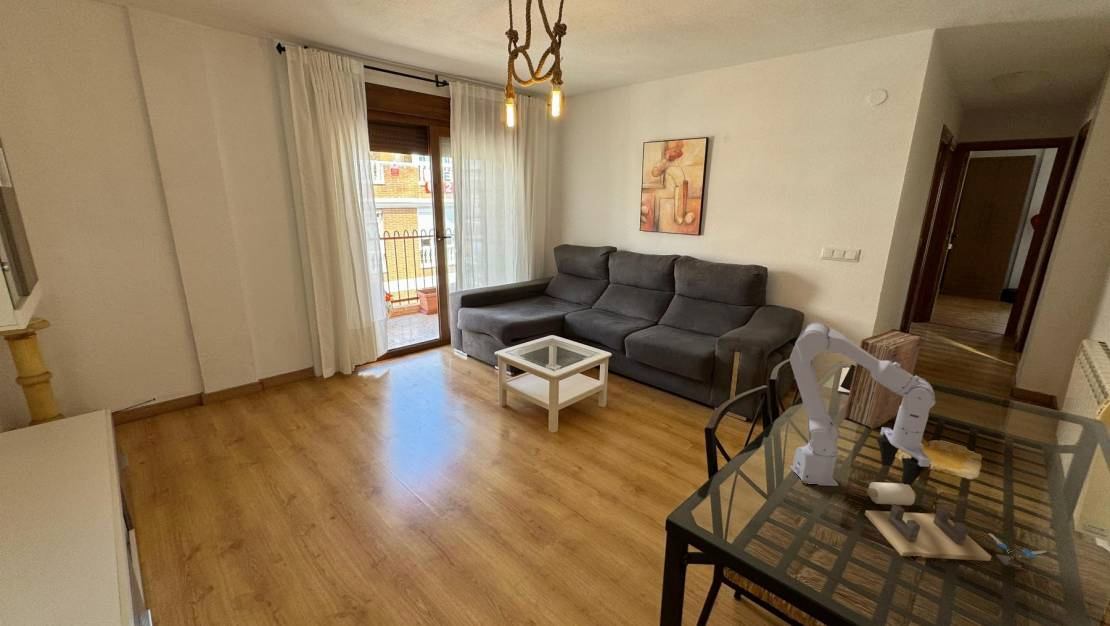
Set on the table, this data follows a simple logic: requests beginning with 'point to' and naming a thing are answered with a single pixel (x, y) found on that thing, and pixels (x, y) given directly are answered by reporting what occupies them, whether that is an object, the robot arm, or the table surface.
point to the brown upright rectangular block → (868, 395)
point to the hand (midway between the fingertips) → (896, 474)
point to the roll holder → (926, 534)
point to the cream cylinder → (891, 493)
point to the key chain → (1007, 558)
